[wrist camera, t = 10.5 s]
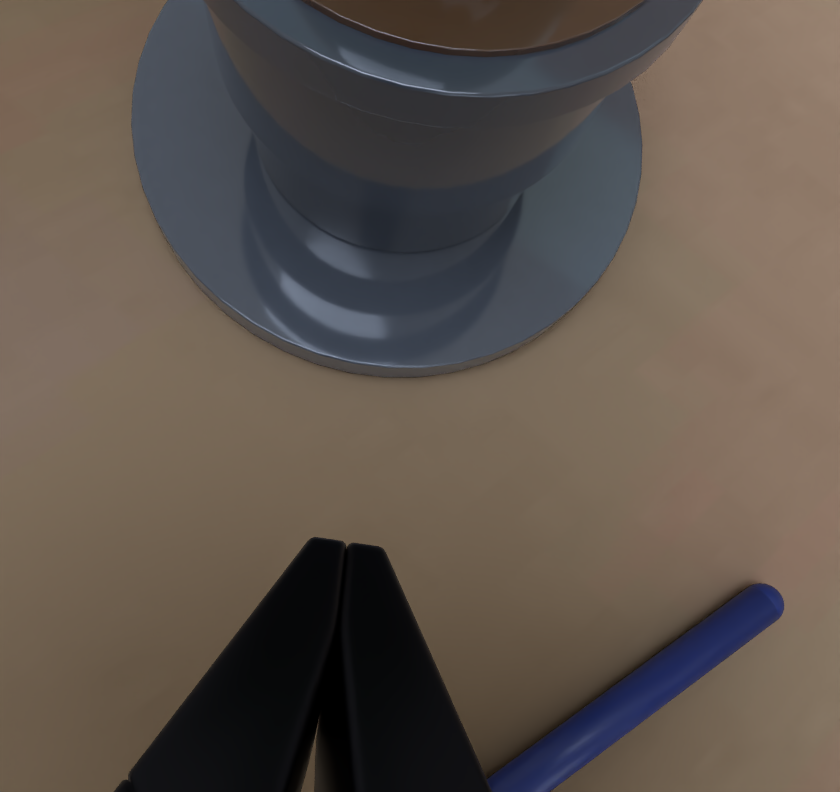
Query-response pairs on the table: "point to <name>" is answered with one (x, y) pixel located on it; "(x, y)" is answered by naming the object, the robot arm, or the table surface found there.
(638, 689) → the pen
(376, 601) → the robot arm
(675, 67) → the table surface
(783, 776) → the table surface
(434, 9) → the plant pot
